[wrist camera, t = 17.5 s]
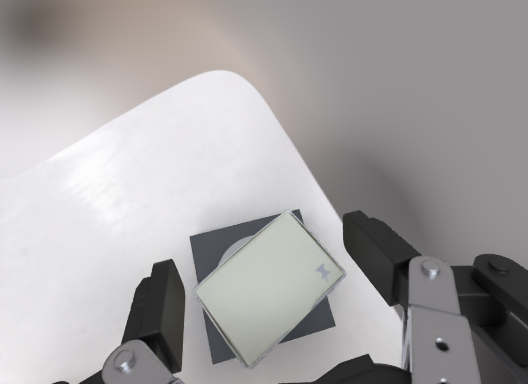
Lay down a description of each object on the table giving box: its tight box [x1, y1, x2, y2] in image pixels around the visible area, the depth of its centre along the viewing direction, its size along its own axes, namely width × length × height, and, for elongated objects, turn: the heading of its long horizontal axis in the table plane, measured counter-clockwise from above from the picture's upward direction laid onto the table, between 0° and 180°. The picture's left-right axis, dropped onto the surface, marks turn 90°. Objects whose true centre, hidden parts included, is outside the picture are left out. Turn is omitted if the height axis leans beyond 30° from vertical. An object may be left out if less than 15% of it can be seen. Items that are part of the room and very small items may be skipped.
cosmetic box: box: [193, 210, 346, 369], centre depth 18 cm, size 6×4×12 cm
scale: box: [190, 209, 336, 364], centre depth 26 cm, size 11×11×3 cm
